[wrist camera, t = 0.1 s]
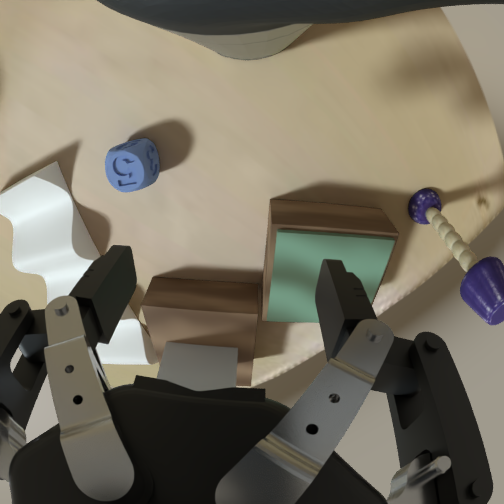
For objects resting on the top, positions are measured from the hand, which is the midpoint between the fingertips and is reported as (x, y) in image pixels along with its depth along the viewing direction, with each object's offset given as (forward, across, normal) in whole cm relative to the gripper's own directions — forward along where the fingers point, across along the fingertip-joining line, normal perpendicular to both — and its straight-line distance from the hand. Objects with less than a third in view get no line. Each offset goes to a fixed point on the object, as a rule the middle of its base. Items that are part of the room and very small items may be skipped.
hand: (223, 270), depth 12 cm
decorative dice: (+18, +10, 0) cm, 20 cm away
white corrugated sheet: (+19, +23, +18) cm, 35 cm away
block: (+14, +4, +23) cm, 27 cm away
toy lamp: (+18, -20, +2) cm, 27 cm away
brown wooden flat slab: (+19, +4, +22) cm, 30 cm away
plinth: (+18, -9, +9) cm, 22 cm away
